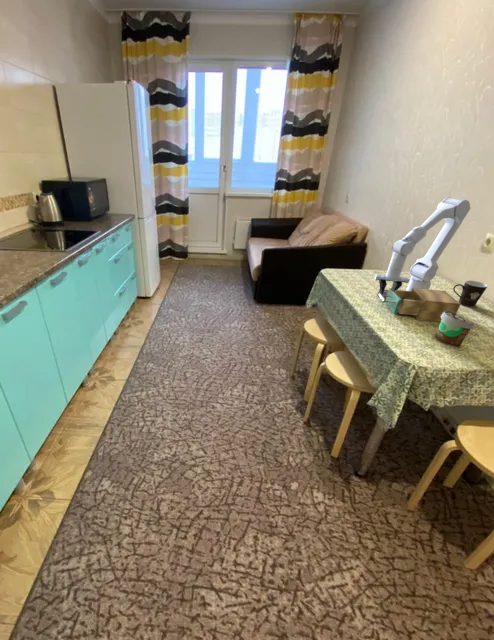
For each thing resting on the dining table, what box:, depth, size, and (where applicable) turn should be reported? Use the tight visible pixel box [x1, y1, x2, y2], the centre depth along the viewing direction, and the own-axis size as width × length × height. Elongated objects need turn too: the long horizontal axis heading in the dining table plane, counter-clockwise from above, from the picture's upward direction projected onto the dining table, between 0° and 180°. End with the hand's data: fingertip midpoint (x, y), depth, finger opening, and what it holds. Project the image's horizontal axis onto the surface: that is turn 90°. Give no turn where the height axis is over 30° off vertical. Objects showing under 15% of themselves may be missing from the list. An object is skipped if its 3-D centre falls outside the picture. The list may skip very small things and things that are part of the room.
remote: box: [377, 288, 389, 300], centre depth 156 cm, size 4×10×3 cm, turn 170°
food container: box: [435, 309, 475, 347], centre depth 121 cm, size 12×6×10 cm, turn 5°
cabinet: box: [411, 288, 462, 323], centre depth 141 cm, size 14×15×9 cm
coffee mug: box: [452, 280, 489, 308], centre depth 154 cm, size 12×9×10 cm
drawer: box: [377, 287, 424, 316], centre depth 143 cm, size 17×13×7 cm
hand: (385, 295), depth 156 cm, fingers closed on remote, 4 cm apart
